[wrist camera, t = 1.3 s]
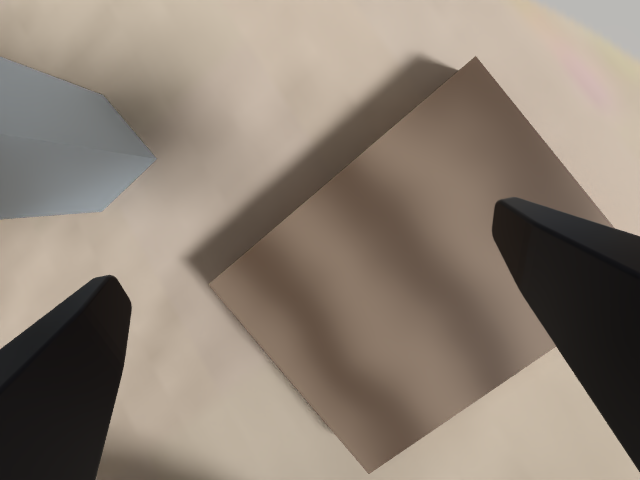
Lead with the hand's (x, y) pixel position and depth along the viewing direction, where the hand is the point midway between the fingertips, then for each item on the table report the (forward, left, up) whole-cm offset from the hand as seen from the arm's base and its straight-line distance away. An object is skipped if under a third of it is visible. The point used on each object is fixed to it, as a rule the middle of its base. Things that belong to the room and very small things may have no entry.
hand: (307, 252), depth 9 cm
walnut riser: (+1, -5, -14) cm, 15 cm away
